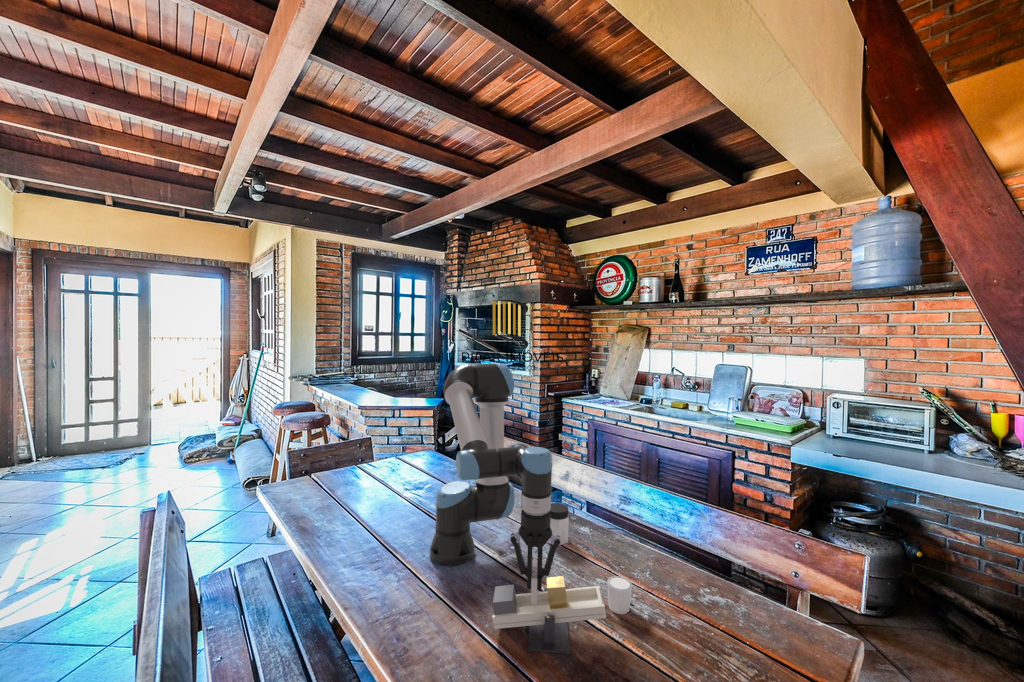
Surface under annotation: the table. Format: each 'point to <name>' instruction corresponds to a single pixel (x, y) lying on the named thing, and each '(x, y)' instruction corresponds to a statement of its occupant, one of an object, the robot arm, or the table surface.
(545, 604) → the beam
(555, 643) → the stand
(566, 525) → the jar
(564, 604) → the rider
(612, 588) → the shot glass
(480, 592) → the table surface
